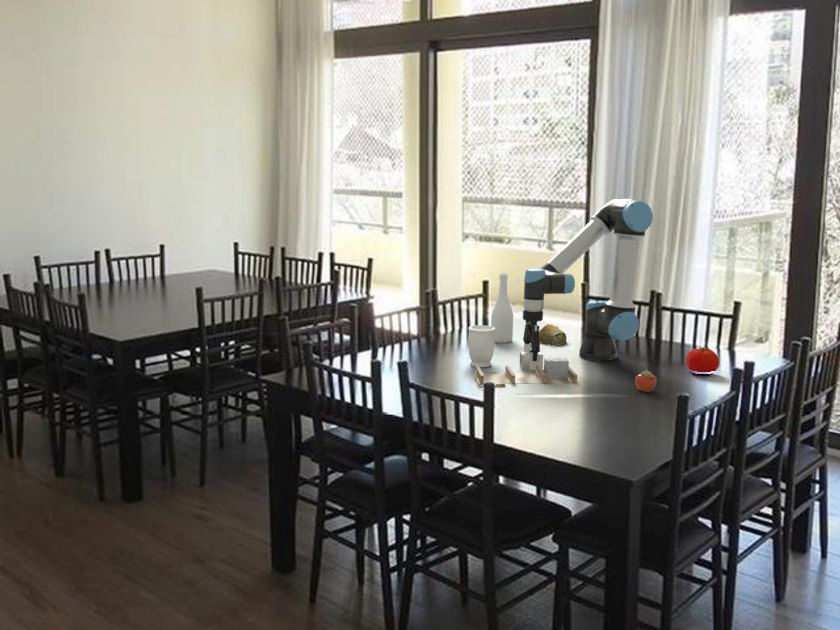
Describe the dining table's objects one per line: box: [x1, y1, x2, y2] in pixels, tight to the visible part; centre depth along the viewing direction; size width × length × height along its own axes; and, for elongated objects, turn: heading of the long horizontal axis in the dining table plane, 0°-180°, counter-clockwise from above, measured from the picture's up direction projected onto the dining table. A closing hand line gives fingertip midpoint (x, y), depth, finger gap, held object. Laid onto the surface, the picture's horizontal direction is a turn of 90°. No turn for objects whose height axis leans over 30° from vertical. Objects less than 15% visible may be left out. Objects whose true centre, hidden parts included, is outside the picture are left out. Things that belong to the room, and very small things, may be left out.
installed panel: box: [543, 357, 570, 380], centre depth 318 cm, size 8×4×7 cm, turn 94°
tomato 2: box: [685, 345, 720, 372], centre depth 331 cm, size 11×13×10 cm
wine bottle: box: [490, 272, 514, 344], centre depth 381 cm, size 10×10×30 cm
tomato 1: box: [634, 368, 658, 392], centre depth 307 cm, size 7×7×8 cm
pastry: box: [539, 324, 567, 347], centre depth 382 cm, size 14×12×8 cm
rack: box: [473, 365, 579, 388], centre depth 317 cm, size 36×15×4 cm, turn 94°
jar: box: [467, 324, 496, 368], centre depth 340 cm, size 11×10×15 cm
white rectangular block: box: [519, 351, 544, 371], centre depth 333 cm, size 8×4×7 cm, turn 94°
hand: (530, 364), depth 333 cm, fingers open, 13 cm apart
